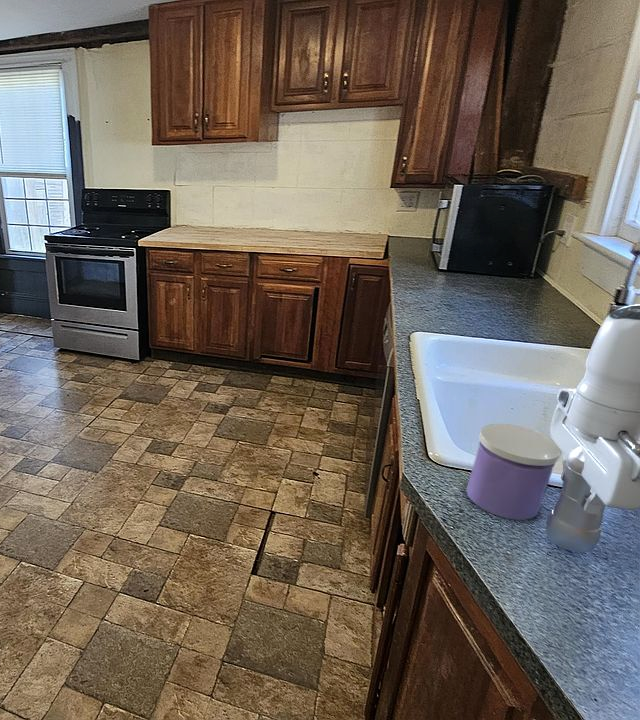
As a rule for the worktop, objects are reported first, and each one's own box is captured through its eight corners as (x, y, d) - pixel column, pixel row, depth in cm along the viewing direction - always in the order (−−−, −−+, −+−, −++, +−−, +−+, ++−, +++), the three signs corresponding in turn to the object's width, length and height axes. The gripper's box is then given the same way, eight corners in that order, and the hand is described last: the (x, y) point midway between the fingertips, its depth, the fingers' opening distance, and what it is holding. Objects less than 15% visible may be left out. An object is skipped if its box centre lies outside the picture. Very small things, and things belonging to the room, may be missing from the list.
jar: (525, 485, 98) (544, 428, 93) (551, 526, 87) (574, 464, 83) (457, 476, 100) (472, 419, 96) (474, 514, 90) (492, 453, 85)
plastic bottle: (542, 526, 87) (573, 416, 81) (594, 541, 84) (631, 428, 77) (541, 547, 82) (575, 432, 76) (596, 564, 79) (636, 446, 72)
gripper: (680, 458, 65) (640, 546, 70) (599, 389, 83) (573, 463, 89) (620, 450, 67) (585, 537, 72) (554, 384, 85) (530, 458, 90)
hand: (578, 496), depth 80 cm, fingers closed on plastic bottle, 6 cm apart
